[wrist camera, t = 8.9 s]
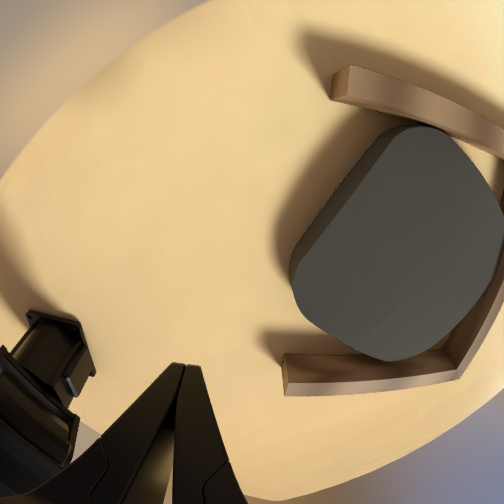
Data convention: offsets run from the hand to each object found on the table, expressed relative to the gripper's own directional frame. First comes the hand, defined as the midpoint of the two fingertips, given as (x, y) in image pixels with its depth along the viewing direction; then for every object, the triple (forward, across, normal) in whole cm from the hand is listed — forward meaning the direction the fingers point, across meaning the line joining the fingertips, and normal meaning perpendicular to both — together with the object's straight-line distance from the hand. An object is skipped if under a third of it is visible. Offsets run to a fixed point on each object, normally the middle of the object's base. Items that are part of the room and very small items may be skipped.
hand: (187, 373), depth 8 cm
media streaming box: (+11, -13, 0) cm, 17 cm away
